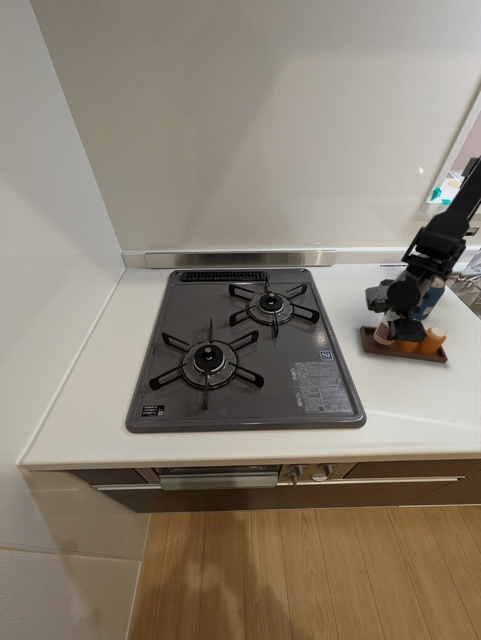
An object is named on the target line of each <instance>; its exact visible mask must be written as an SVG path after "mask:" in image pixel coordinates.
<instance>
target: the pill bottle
mask: <svg viewBox="0 0 481 640" xmlns="http://www.w3.org/2000/svg"><path fill="white" fill-rule="evenodd" d="M399 318H400V317H397V316H395V313H394V312H391V311H390V310H388V311H387V313H386V315H385V316H384V315H383V316H382V317H381V319H380V320H379V323H378V325H377V326H376V327H377V329H376V331H375V333H374V338H375V340H376V341H378V342H379V343H381V344H385V345H388V344H391V343H392V342H393V341H394V340H392V341H387V340H386V339H387V335H388V333H389V330H390V329H389V326H388V322H387V321H394V320H396V319H399Z"/></svg>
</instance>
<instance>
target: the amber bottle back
mask: <svg viewBox="0 0 481 640" xmlns="http://www.w3.org/2000/svg"><path fill="white" fill-rule="evenodd" d="M425 330H426V333H427V335H428V336H427V338H426V339H425V340H424V342H423V343H419V344H418V345H417V347H416V348H417V350H418V351H419V352H421V353H422V354H425V355H433V354H434V353H435V352H436V351H437V350H438V348H439V347H440V346H441V345H442V346H443V343H445V341H446V340H447V336H446V332H445V331H444V330H443V328H440V327H436V326H434V327H429V328H427V329H425Z"/></svg>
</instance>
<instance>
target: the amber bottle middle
mask: <svg viewBox="0 0 481 640" xmlns="http://www.w3.org/2000/svg"><path fill="white" fill-rule="evenodd" d="M418 344H419V343H416V342H408V341H400V340H397V341H396V346H397V347H398V348H399V349H400V350H401V351H403V352H407V353H410V352H413V351H414V349H415V348H416V347H417V345H418Z"/></svg>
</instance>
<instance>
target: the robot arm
mask: <svg viewBox="0 0 481 640" xmlns="http://www.w3.org/2000/svg"><path fill="white" fill-rule="evenodd" d="M460 177H462V178H463V180H462V182H461V184H460V186H459V190H458V191H457V193H456V194H455V196H454V197H453V198H452V199H451V201H450V203H449V204H448V206H447V208H445V210H444V211H441V212H439V213H437V214H435V215H433V216H432V217H431V219H429V220H428V221H427V224H426V225H425V226H421V227H420V228H419V229H418V231H417V233H416V234H415V236H414V238H413V239H412V241H411V243H410V244H409V246H408V247H407V249H406V251H405V252H404V254H403V256H402V258H401V259H400V262H401V263H405V264H407V266H406V267H405V269H404V270H403V271H401V272H400V273H399V274H398V275H397V277H396V278H395V279H391V278H385V279H382V280H380V282H379V284H378V285H377V286H372V287H367V288H366V289H365V290H364V291H365V292H364V293H365V295H364V296H365V303H366V307H367V310H368V311H369V312H374V314H381V313H383V316H385V315H386V313H387V311H388V310H390V311H391V312H394V313H395V316H397V317H400V318H399V319H396V320H394V321H387V322H388V326H389V329H390V330H389V333H388V335H387V339H386V340H387V341H392V340H395V339H396V340H400V341H408V342H416V343H423V342H424V340H425V339H426V338H427V336H428V335H427V333H426V330H427V329H426V328H425V325H424V324H423V322H422V320H416V319H415V318H413V316H412V313H419V312H420V311H421V309H420V307H419V304H420V303H421V301H422V299H428V298H429V297H430V294H429V292H428V290H429V288H430V287H431V285H432V283H433V282H434V280H435V279H436V277H439V278H441V279H443V280H444V281H445V283H446V282H447V280H449V278H450V277H451V275H452V273H453V272H454V270H453V269H454V267H455V266H456V265H457V262H458V261H459V259H460V258H461V256H462V255H463V254H464V252H465V250H466V249H467V245H466V244H467V243H468V242H467V239H464V237H465V236H466V234H467V233H468V231H469V229H470V228H471V224H470V223H471V221H472V220H473V218H474V217H475V215H476V214H477V211H478V210H479V208H480V207H481V154H480V155H479V156H478V157H474V156H473V157H470V158H469V159H468V162H467V164H466V165H465V167H464V169H463V171H462V173H461V174H460ZM413 250H414V251H415V253H418V254H414V253H412V251H413Z"/></svg>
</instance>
